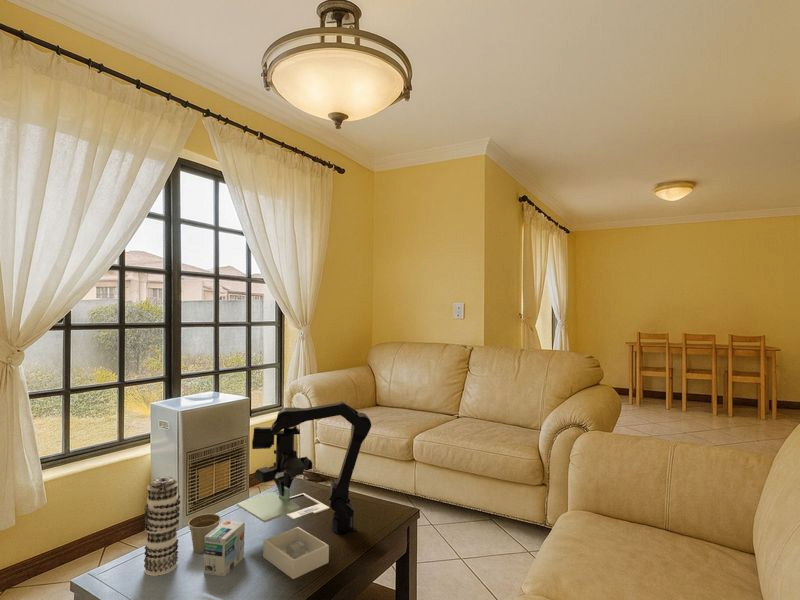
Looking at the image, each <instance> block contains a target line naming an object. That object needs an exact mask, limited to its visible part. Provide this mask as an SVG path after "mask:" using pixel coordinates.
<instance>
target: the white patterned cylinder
mask: <svg viewBox="0 0 800 600" xmlns="http://www.w3.org/2000/svg"><path fill="white" fill-rule="evenodd" d="M178 485H179V481H177V480H176V479H175V478H174V477H172V476H162V477H157V478H154V479H153V480H152V481H151V482H150V484H148V485H147V487H146V489H147V490H148V491H147V498H146V504H145V505H144V514H143V515H144V517H145V519H144V520H145V521H144V524H145V525H144V530H145V531H146V536H147V537H146V540H145V545H144V549H145V551H144V560H143V561H144V565H143V567H144V574H145V573H146V574H147V576H149V575H150V577H158V575H160V576H164V575H167V574H169V573H171V572H173V571H174V570H175V569H177V567H178V564H177V563H178V561H179V560H178V559H179V556H178V554H179V551H178V549H179V548H178V547H179V545H178V544H179V539H178V532H177V528H178V526H179V522H180V520H179V519H178V518H179V517H180V513H179V511H180V510H181V509H180V506H179V505H180V504H181V500H180V498H181V495H180V494H179V493H178ZM172 570H173V571H172ZM166 573H167V574H166ZM146 574H145V575H146ZM163 574H164V575H163Z"/></svg>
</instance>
